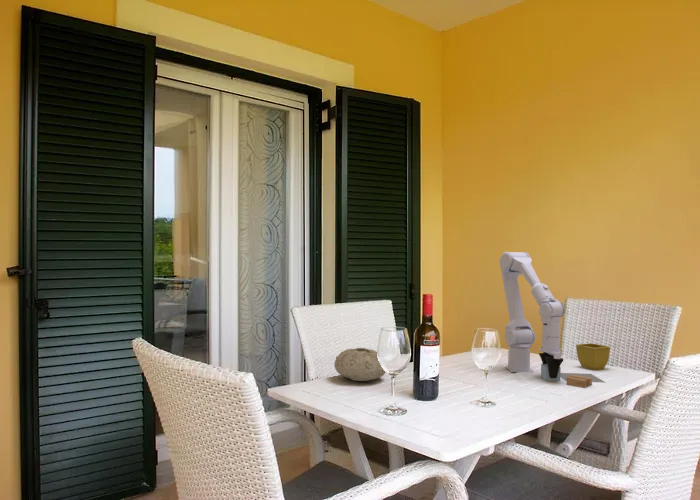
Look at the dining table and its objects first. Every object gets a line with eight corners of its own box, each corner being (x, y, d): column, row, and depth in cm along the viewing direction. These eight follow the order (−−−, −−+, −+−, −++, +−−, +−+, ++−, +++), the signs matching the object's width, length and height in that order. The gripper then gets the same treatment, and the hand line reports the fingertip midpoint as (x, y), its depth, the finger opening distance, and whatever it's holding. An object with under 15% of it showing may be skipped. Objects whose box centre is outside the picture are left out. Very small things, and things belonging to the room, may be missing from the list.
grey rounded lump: (397, 381, 178) (398, 351, 178) (356, 389, 167) (357, 357, 167) (363, 371, 192) (364, 343, 192) (323, 377, 181) (323, 348, 181)
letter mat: (554, 373, 193) (554, 372, 193) (591, 374, 192) (591, 373, 192) (566, 382, 180) (566, 381, 180) (605, 383, 179) (605, 382, 179)
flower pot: (574, 367, 204) (575, 344, 204) (591, 365, 208) (591, 342, 208) (594, 372, 196) (594, 348, 196) (610, 370, 200) (611, 346, 200)
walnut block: (573, 383, 180) (573, 374, 180) (591, 387, 175) (591, 377, 175) (566, 386, 175) (566, 377, 175) (585, 390, 171) (585, 380, 171)
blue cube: (540, 378, 185) (541, 363, 185) (555, 378, 185) (555, 364, 185) (545, 381, 180) (545, 366, 180) (560, 382, 180) (560, 367, 180)
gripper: (533, 332, 190) (532, 370, 190) (545, 339, 176) (544, 380, 176) (553, 333, 190) (553, 371, 190) (567, 340, 175) (566, 381, 175)
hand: (550, 376), depth 183 cm, fingers closed on blue cube, 5 cm apart
